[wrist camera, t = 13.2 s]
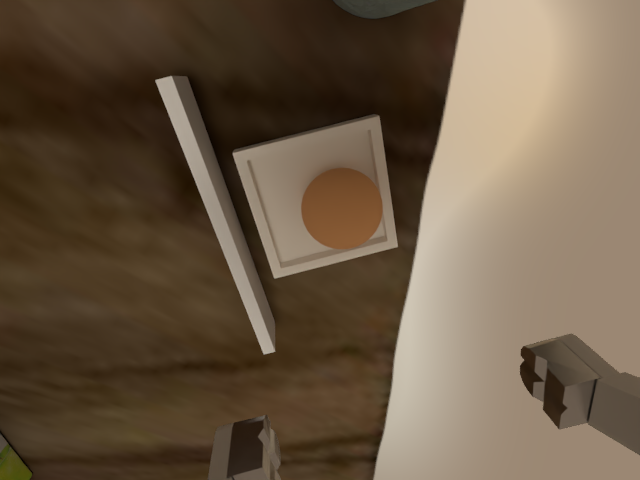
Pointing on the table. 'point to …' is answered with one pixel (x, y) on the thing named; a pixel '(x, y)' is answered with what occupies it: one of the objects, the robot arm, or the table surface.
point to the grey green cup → (378, 7)
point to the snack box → (11, 464)
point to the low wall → (218, 203)
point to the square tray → (292, 181)
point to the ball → (342, 208)
